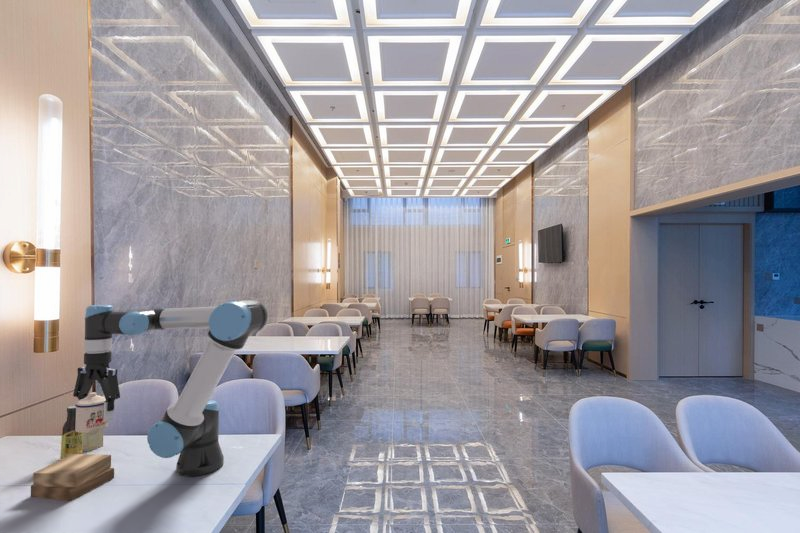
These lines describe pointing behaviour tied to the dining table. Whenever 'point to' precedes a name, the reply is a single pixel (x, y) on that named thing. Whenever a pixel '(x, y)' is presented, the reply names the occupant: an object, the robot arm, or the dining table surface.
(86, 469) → the tower top block
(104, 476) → the tower base block
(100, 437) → the skincare box
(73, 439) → the sauce bottle
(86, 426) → the teacup with lid
